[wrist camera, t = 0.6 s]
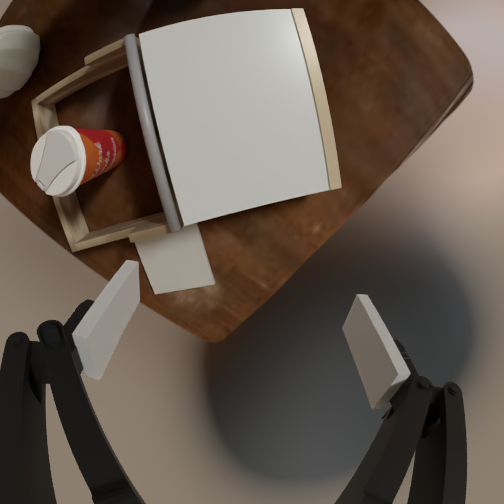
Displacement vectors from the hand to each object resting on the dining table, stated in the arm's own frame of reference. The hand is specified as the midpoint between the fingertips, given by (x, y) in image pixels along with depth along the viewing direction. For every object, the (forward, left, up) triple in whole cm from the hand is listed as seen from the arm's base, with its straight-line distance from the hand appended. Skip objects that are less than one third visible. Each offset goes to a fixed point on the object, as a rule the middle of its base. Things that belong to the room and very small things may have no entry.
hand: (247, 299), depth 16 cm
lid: (-12, +1, -22) cm, 26 cm away
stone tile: (+8, -14, -26) cm, 31 cm away
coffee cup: (-12, -19, -27) cm, 35 cm away
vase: (-37, -35, -27) cm, 58 cm away
